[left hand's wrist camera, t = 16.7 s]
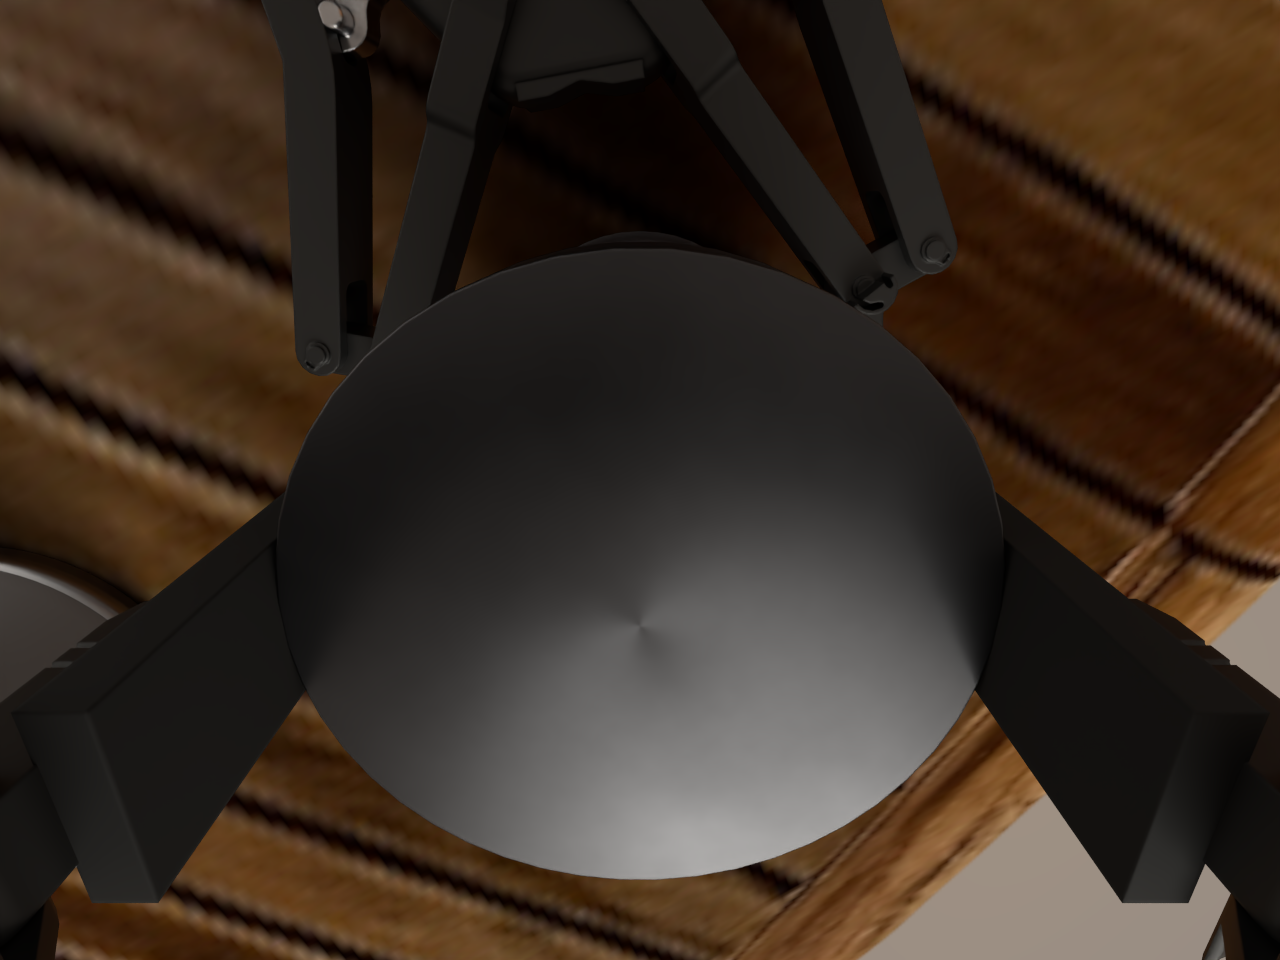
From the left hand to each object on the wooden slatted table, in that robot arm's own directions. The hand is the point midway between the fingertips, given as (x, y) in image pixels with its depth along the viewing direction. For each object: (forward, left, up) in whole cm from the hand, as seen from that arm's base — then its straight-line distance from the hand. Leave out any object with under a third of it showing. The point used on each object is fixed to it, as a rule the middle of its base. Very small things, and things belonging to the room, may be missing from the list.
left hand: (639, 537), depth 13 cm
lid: (0, 0, +3) cm, 3 cm away
